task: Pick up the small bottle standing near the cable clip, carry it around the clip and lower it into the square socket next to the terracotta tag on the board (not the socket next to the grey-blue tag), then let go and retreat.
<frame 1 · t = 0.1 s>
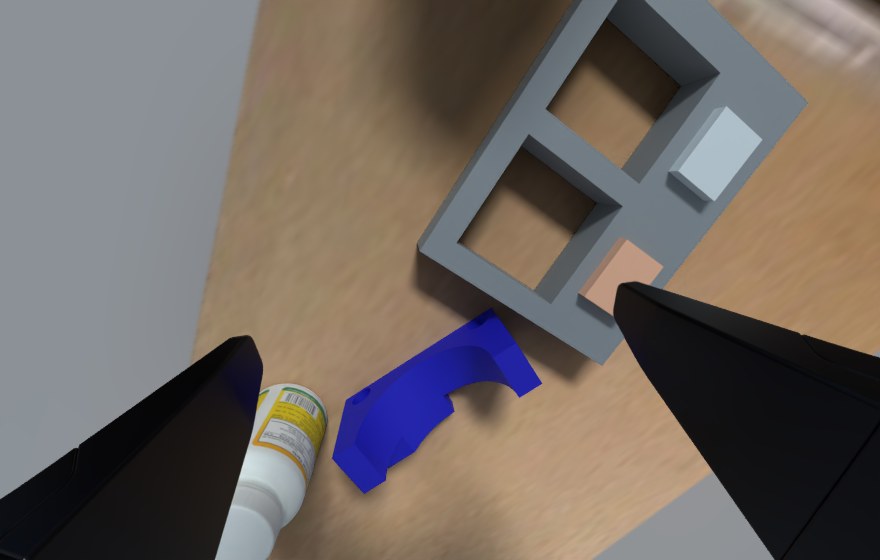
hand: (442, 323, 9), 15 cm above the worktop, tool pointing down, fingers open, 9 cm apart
cable clip: (434, 375, 27), on the worktop
supplement bottle: (289, 413, 27), on the worktop
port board: (589, 176, 24), on the worktop
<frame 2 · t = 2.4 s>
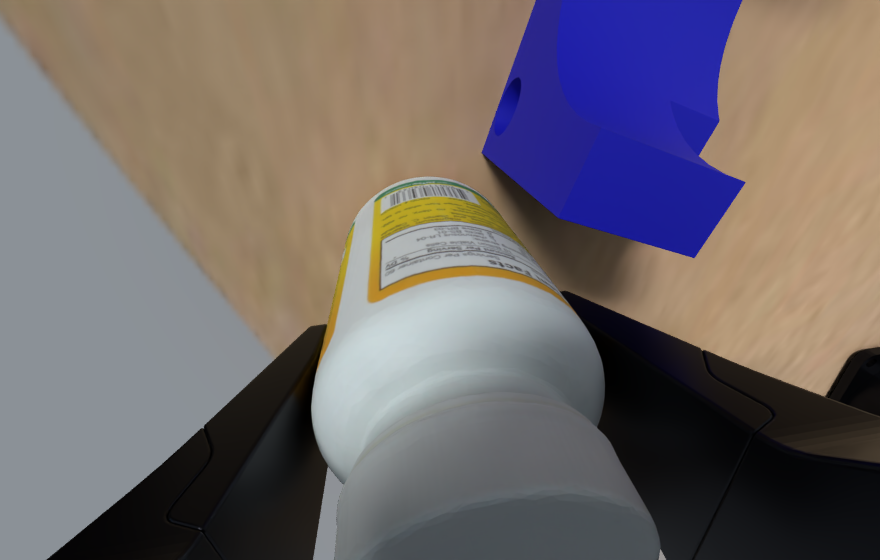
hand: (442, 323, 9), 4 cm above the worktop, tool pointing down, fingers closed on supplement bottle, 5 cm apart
supplement bottle: (425, 251, 13), on the worktop, touching gripper
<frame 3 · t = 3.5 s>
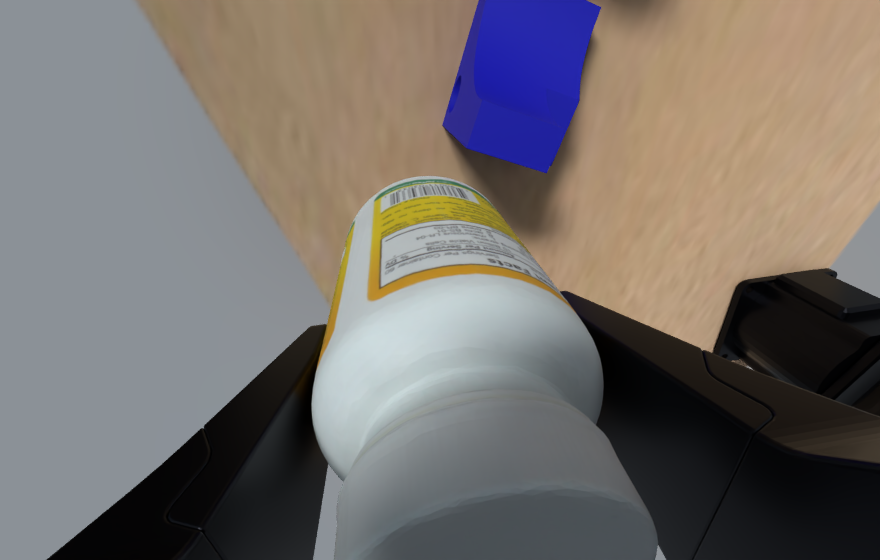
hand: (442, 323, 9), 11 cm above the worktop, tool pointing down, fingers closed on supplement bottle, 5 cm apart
supplement bottle: (425, 250, 13), point 7 cm above the worktop, touching gripper
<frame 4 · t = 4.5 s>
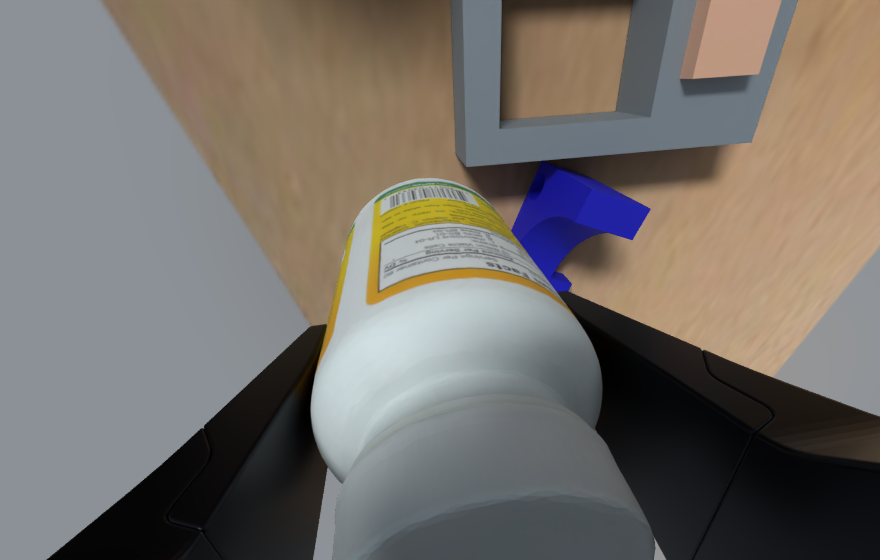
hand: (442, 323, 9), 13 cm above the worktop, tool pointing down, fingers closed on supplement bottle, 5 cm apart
cable clip: (530, 263, 24), on the worktop
supplement bottle: (425, 252, 13), point 8 cm above the worktop, touching gripper
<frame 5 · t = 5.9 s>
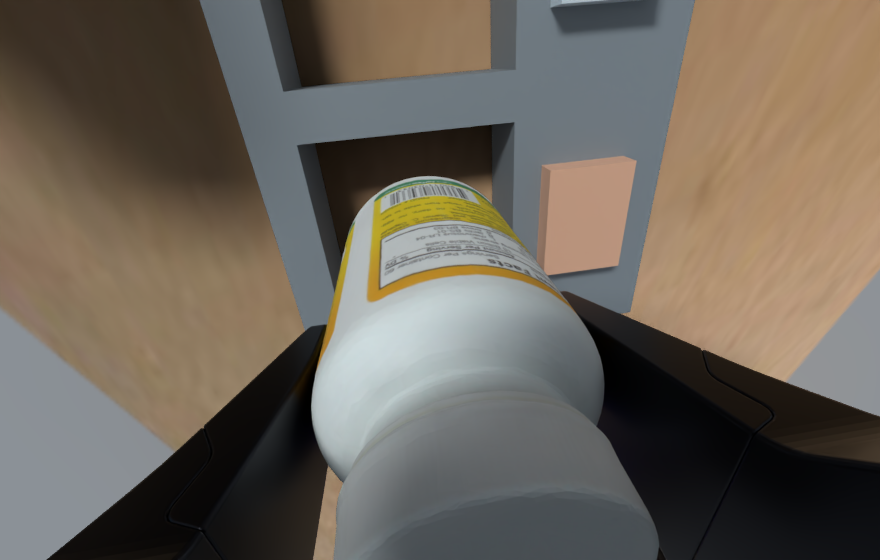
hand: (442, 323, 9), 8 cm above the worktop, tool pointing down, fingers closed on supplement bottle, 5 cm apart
supplement bottle: (425, 250, 13), point 4 cm above the worktop, touching gripper
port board: (452, 87, 14), on the worktop
when the fingers open (5 cm above the worktop, at t = 6.8 s): supplement bottle drops 1 cm, resting in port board.
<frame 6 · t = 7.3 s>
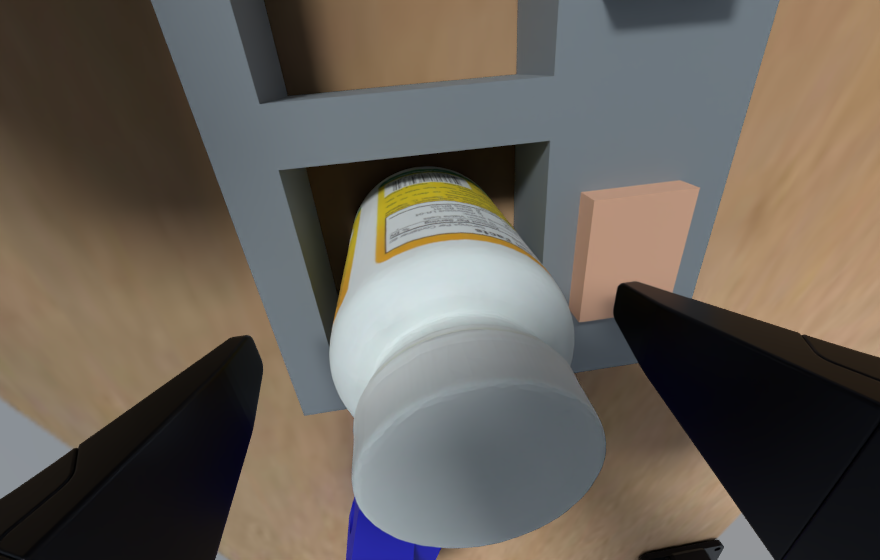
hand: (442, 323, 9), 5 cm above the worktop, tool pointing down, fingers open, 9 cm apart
cable clip: (411, 443, 20), on the worktop
supplement bottle: (424, 235, 14), resting in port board
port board: (469, 96, 12), on the worktop
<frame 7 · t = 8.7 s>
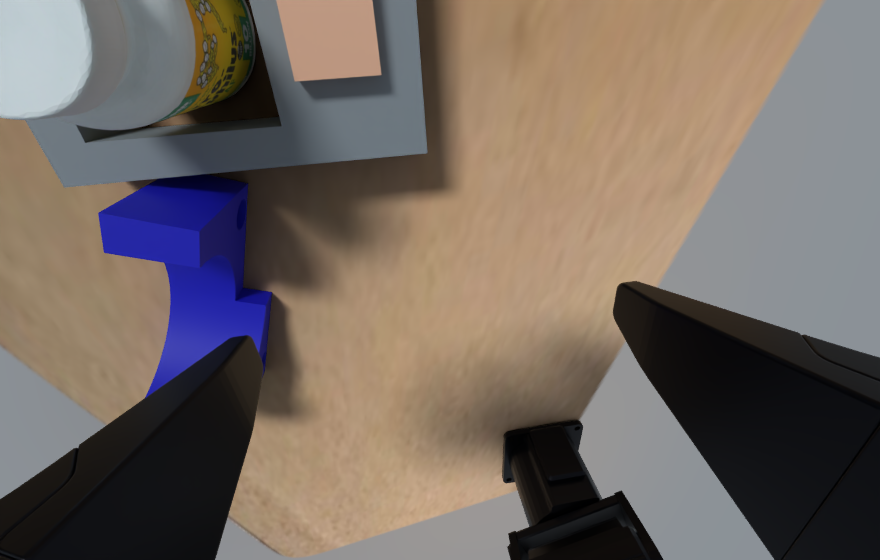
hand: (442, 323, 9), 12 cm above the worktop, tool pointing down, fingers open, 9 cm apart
cable clip: (230, 282, 21), on the worktop
supplement bottle: (188, 29, 15), resting in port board
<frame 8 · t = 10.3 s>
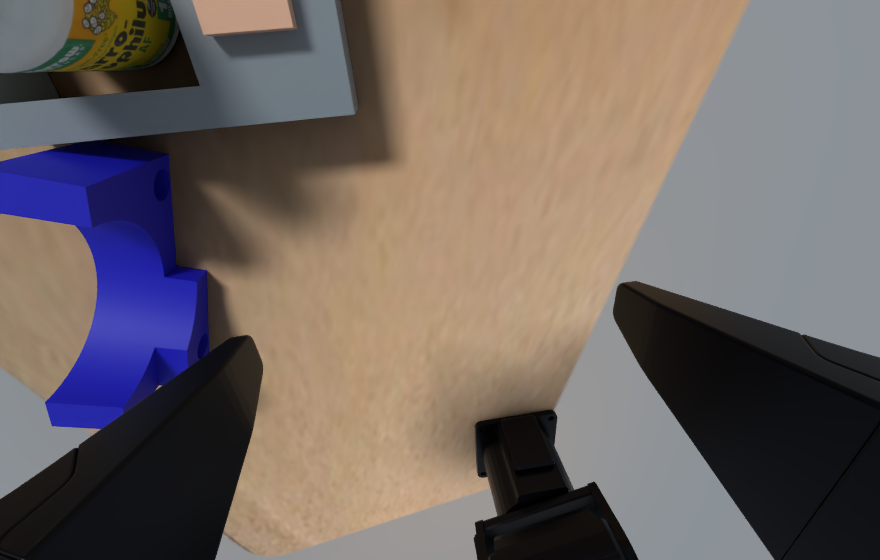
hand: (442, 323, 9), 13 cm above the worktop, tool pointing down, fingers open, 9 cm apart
cable clip: (164, 260, 21), on the worktop
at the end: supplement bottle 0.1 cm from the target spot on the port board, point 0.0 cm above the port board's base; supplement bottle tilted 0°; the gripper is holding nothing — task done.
